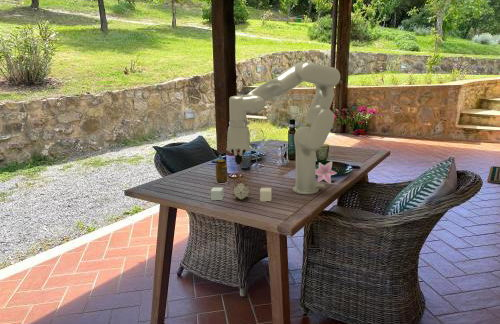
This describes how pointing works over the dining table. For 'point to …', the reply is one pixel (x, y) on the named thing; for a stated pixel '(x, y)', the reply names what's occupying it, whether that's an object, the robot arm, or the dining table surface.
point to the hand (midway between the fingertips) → (238, 163)
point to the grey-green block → (217, 194)
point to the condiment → (221, 171)
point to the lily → (325, 172)
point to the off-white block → (265, 194)
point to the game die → (241, 191)
